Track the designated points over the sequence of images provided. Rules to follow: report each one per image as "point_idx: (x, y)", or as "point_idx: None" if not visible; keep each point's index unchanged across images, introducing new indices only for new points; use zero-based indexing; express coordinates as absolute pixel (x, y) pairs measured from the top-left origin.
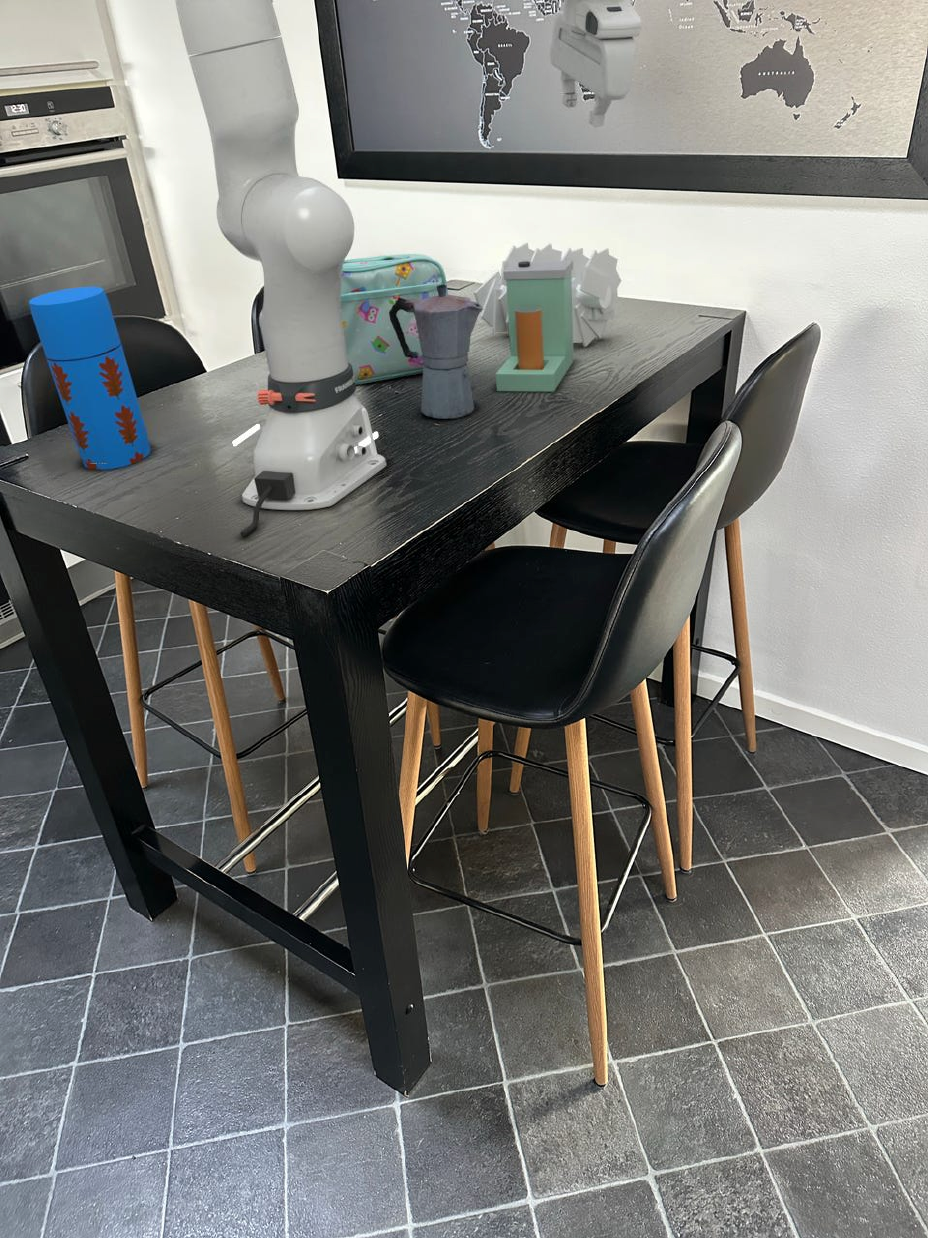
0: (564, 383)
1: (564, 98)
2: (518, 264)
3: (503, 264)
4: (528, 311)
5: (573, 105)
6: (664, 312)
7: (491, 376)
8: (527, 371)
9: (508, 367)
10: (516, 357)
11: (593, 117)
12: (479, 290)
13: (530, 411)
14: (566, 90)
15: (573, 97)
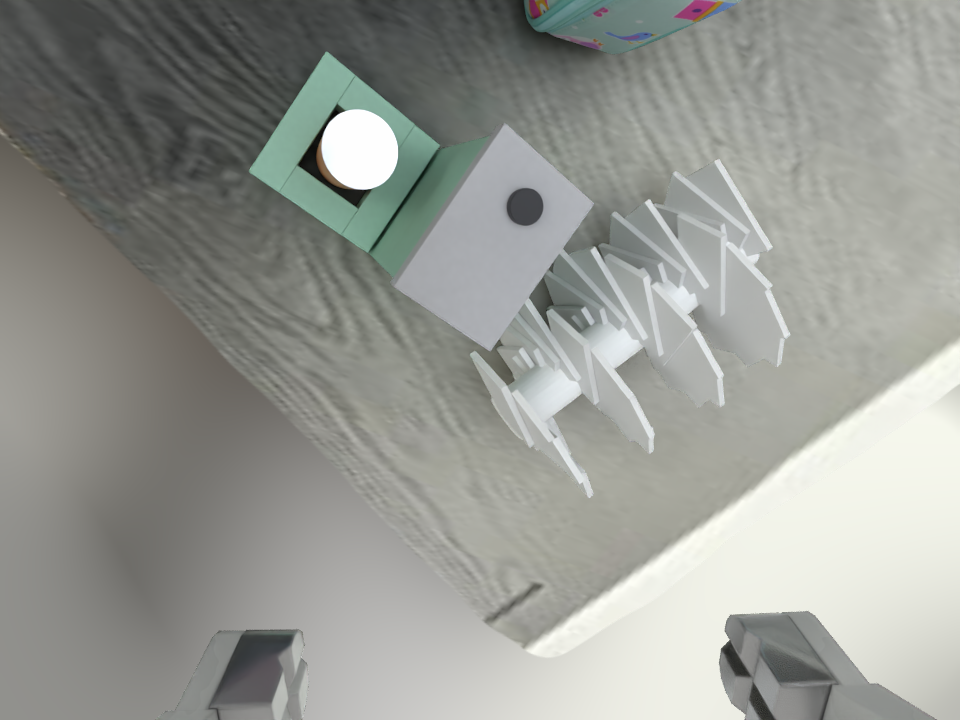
0: (296, 217)
1: (804, 645)
2: (529, 188)
3: (715, 233)
4: (325, 135)
5: (723, 662)
6: (595, 543)
7: (431, 96)
8: (302, 128)
9: (356, 101)
10: (420, 152)
11: (193, 679)
12: (720, 175)
13: (140, 64)
14: (849, 714)
15: (752, 710)
